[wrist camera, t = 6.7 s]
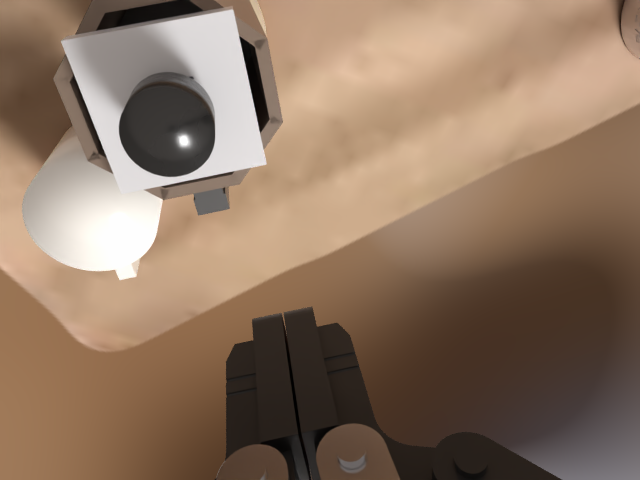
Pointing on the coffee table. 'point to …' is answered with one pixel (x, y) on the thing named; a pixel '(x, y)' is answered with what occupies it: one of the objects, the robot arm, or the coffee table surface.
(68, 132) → the mug
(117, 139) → the carafe
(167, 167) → the plunger
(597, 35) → the coffee table surface
